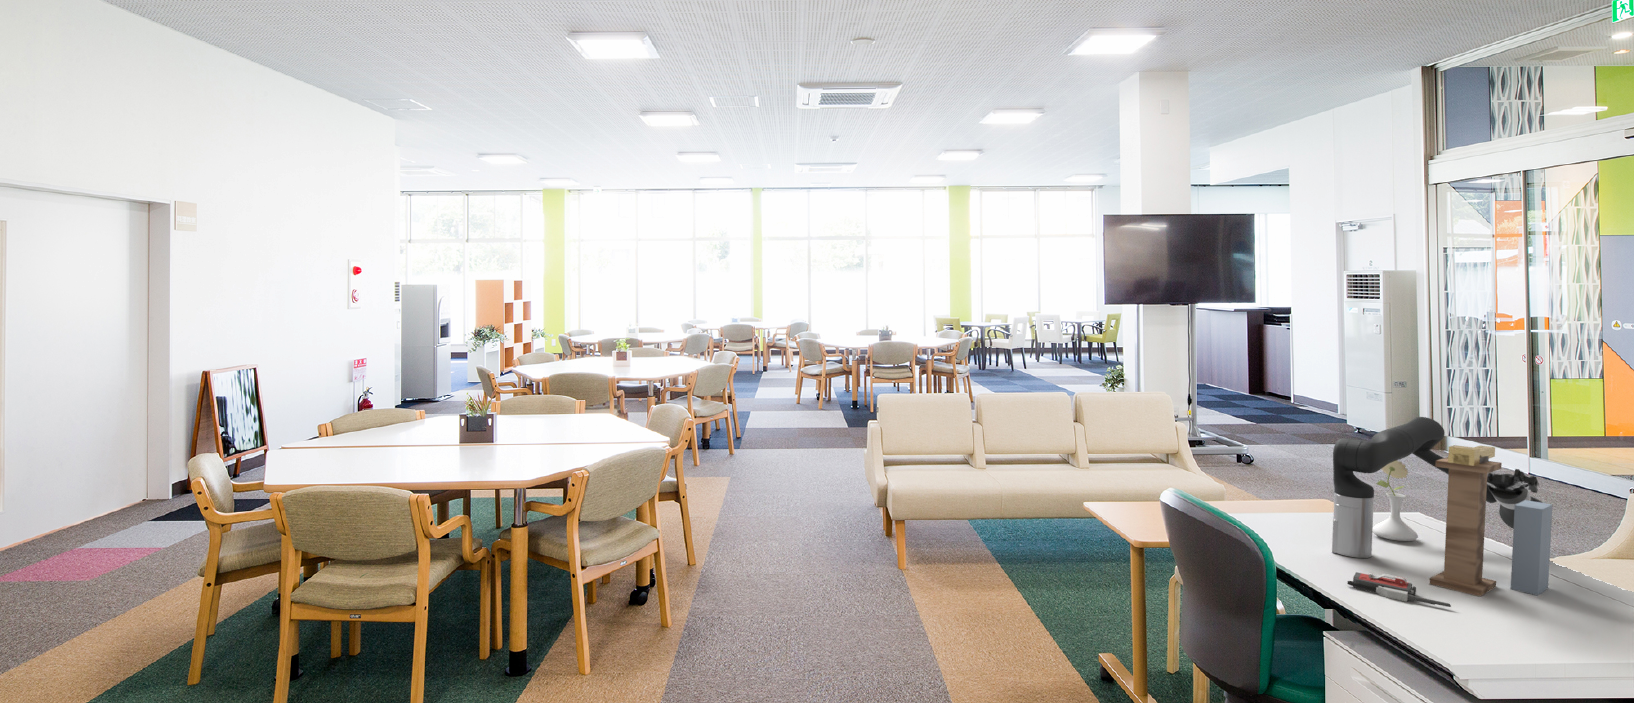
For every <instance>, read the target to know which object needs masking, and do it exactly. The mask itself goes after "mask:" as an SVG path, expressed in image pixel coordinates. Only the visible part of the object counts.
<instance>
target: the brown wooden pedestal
mask: <svg viewBox="0 0 1634 703" xmlns="http://www.w3.org/2000/svg"><path fill="white" fill-rule="evenodd" d="M1436 467H1442V468H1449V474H1447V475H1448V477H1447V480H1448V481H1447V500H1446V522H1445V541H1444V542H1445V544H1444V546H1445V547H1444V565H1443V567H1444V568H1443V570H1442V571H1441V572H1439V573H1436V574H1435V575H1434V576H1431V577H1429V585H1432V586H1436V587H1441V588H1444V589H1447V590H1448V589H1449V590H1452V591H1456V592H1460V593H1464V594H1468V595H1471V596H1477V597H1482V596H1484V595H1485V594H1487V593H1489V592H1491V591H1492V590H1494V589H1495V588H1496V587H1497V580H1494V579H1490V578H1486V577H1485V578H1484V577H1483V574H1484V573H1483V572H1484V569H1483V568H1484V550H1485V549H1484V548H1485V530H1486V527H1485V526H1486V513H1487V512H1486V508H1487V507H1486V506H1487V501H1486V491H1487V474H1488V473H1490V472H1493V473H1494V472H1496V471H1498V470H1501V469H1502V462H1499V461H1490V458H1489V456H1484V457H1481V458H1480V461H1479V464H1478V465H1475V466H1471V465H1464V464H1456V463H1449V462H1448V456H1446V457H1444V458H1443V459H1440V460H1436V463H1435V467H1434V468H1436Z"/></svg>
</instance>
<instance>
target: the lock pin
mask: <svg viewBox="0 0 1634 703" xmlns="http://www.w3.org/2000/svg"><path fill="white" fill-rule="evenodd" d="M1495 455H1496V447H1494V446H1488V445H1477V446H1474V447H1473V446H1465V445H1464V446H1463V445H1456V444H1455V445H1450V446H1448V456H1447V457H1448V462H1449V463H1456V464H1464V465H1471V466H1475V465H1478V464H1479V461H1480V458H1481V457H1484V456H1489V459H1492V458H1494V457H1496V456H1495Z"/></svg>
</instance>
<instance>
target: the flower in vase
mask: <svg viewBox="0 0 1634 703" xmlns="http://www.w3.org/2000/svg"><path fill="white" fill-rule="evenodd" d="M1381 470H1382V472H1383V473H1385V474H1386V475H1387V479H1386V480H1387V482H1386V481H1384V480H1382V479H1380V480H1379V481H1377V483H1376V485H1378V486H1380V487H1383V488H1385V489H1388V487H1389V490H1390V491H1391V492H1386V493H1385V495H1386V496H1387V498H1388V500H1389V504H1390V514H1389V517H1387V518H1386V519H1385V520H1383V521H1381V522H1378V523H1376V524H1375V525H1373V531H1372V534H1374V535H1376V536H1378V537H1380V538H1383V539H1387V540H1391V541H1400V542H1410V541H1416V540H1417V539H1418V538H1419V535H1418V533H1417V532H1416V531H1415V530H1414V529H1413V528H1412V527H1410V526H1409V524H1407V523H1405V522H1404V521H1403V520H1402V518H1401V507H1402V504H1403V501H1404V499H1406V498H1407V495H1406V494H1402V493H1398V492H1394V491H1396V490H1401V489H1403V488H1405V485H1401V486H1397V487H1395V488H1392V487H1391V485H1390V476H1391V477H1392V478H1394V479H1396V480H1397V479H1404V478H1407V476H1408V473H1409V470H1408V469H1407V468H1406V465H1405V464H1404V463H1403V462H1402V461H1399V460H1396V461H1394V462H1392V463H1389V464H1387V465H1386V466H1385V467H1383V468H1382V469H1381Z"/></svg>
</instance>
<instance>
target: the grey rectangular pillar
mask: <svg viewBox="0 0 1634 703" xmlns="http://www.w3.org/2000/svg"><path fill="white" fill-rule="evenodd" d="M1541 502H1542V501H1541ZM1541 502H1534V501H1528V500H1525V501H1523V502H1520V503H1518V504H1516V505H1515V511H1514V529H1513V534H1512V535H1513V536H1512V555H1511V572H1510V590H1514V591H1518V592H1522V593H1526V594H1531V595H1535V596H1539V595H1541V594H1542V593H1543V592H1544V591H1546V590H1548V589H1549V580H1550V579H1549V577H1550V560H1551V559H1550V558H1551V544H1552V543H1551V541H1552V522H1553V520H1552V519H1553V504H1552V503H1551V504H1550V503H1547V502H1546V503H1545V502H1543V503H1541Z"/></svg>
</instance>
